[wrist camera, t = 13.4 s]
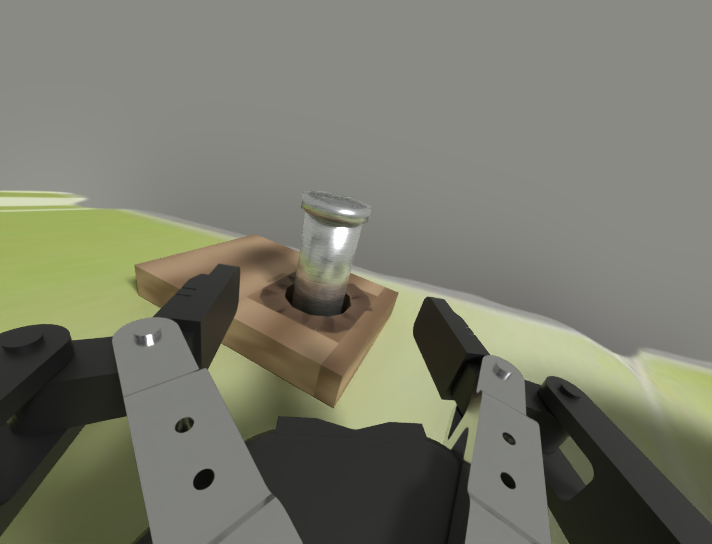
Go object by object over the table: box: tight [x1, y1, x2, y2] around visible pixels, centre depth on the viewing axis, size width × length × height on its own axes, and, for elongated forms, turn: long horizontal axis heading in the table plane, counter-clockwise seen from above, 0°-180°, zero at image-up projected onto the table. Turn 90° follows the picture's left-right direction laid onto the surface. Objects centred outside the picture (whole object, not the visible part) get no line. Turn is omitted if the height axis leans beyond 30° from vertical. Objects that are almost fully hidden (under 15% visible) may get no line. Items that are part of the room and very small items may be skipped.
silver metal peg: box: [292, 191, 371, 317], centre depth 23 cm, size 5×5×12 cm
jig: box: [135, 235, 398, 408], centre depth 26 cm, size 20×14×3 cm
